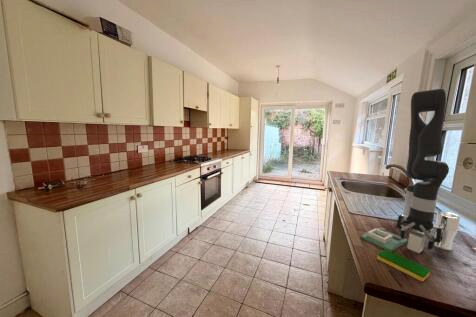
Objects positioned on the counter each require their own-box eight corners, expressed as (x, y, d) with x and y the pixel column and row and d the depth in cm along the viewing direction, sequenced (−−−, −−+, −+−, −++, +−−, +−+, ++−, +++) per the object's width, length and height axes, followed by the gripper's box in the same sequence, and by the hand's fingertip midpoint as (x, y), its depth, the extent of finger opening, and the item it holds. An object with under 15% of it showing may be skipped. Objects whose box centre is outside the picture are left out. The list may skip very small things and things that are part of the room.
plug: (410, 245, 86) (413, 228, 85) (422, 250, 83) (426, 233, 81) (406, 248, 84) (409, 231, 83) (419, 253, 81) (422, 235, 79)
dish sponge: (384, 253, 80) (385, 248, 80) (429, 275, 69) (430, 269, 69) (376, 259, 77) (377, 254, 76) (423, 283, 65) (424, 276, 65)
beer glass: (450, 253, 81) (457, 219, 79) (428, 244, 87) (434, 212, 85) (456, 248, 85) (463, 216, 82) (434, 240, 91) (440, 210, 88)
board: (378, 229, 99) (378, 224, 98) (407, 241, 89) (408, 235, 88) (360, 237, 91) (361, 231, 91) (390, 252, 81) (391, 245, 80)
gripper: (449, 212, 76) (441, 250, 79) (405, 200, 88) (399, 233, 91) (443, 216, 72) (435, 255, 75) (397, 203, 85) (392, 237, 87)
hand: (415, 243), depth 83 cm, fingers open, 8 cm apart
